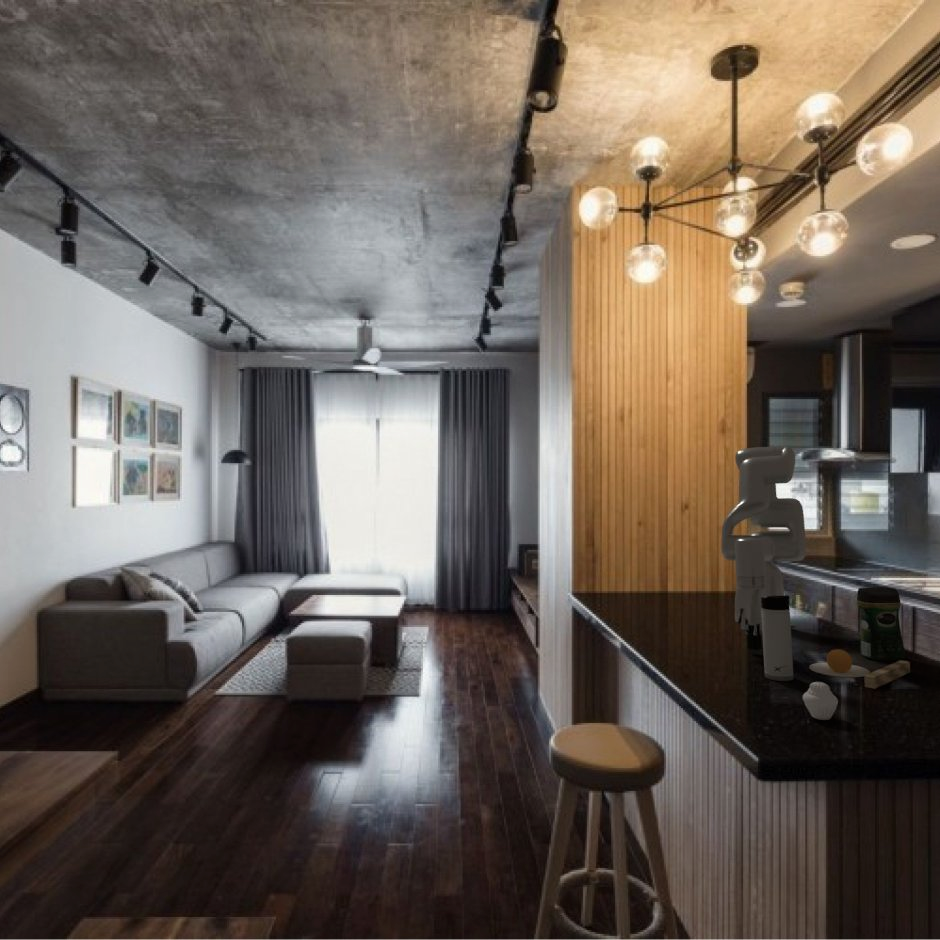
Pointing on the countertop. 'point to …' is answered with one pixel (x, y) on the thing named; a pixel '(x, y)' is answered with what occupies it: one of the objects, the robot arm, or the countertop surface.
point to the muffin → (820, 701)
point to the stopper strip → (887, 674)
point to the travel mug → (777, 638)
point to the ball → (839, 660)
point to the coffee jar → (880, 623)
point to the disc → (853, 672)
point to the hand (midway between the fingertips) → (754, 648)
